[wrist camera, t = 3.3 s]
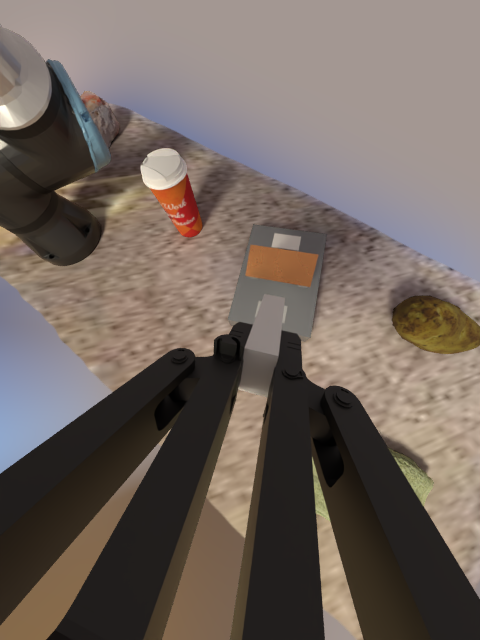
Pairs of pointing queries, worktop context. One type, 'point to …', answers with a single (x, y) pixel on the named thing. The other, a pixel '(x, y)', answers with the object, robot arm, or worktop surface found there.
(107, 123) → the food item
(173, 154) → the paper cup
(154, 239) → the worktop surface
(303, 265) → the lever
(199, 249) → the worktop surface
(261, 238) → the switch block
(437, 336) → the potato
